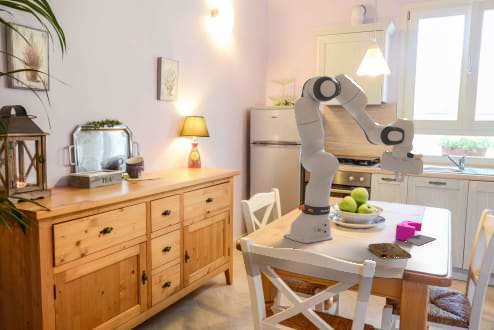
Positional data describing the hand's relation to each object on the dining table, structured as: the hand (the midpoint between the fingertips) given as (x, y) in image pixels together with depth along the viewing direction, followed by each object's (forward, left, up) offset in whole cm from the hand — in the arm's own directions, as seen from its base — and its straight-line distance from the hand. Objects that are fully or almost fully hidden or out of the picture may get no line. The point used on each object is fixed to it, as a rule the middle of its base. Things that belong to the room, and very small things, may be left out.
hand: (399, 181), depth 189 cm
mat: (-3, -13, -24) cm, 28 cm away
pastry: (-29, -14, -25) cm, 41 cm away
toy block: (-5, -5, -21) cm, 22 cm away
